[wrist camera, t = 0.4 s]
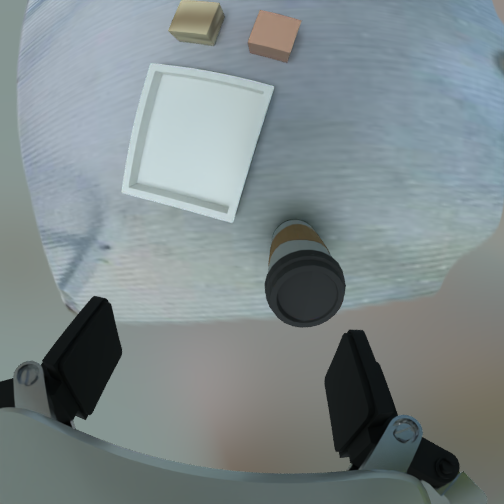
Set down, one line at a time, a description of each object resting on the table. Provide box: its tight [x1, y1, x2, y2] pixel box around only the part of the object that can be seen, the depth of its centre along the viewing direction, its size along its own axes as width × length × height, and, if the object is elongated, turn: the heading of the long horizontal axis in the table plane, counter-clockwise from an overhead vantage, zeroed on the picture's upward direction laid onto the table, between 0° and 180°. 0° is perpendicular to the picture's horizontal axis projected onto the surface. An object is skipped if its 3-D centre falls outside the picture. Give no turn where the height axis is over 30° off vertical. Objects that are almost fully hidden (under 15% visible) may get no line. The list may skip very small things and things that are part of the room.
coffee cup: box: [265, 220, 346, 327], centre depth 33 cm, size 8×8×15 cm
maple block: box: [168, 0, 225, 46], centre depth 25 cm, size 5×5×5 cm
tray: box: [122, 63, 274, 223], centre depth 32 cm, size 18×16×4 cm
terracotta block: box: [248, 10, 301, 63], centre depth 26 cm, size 5×5×5 cm
